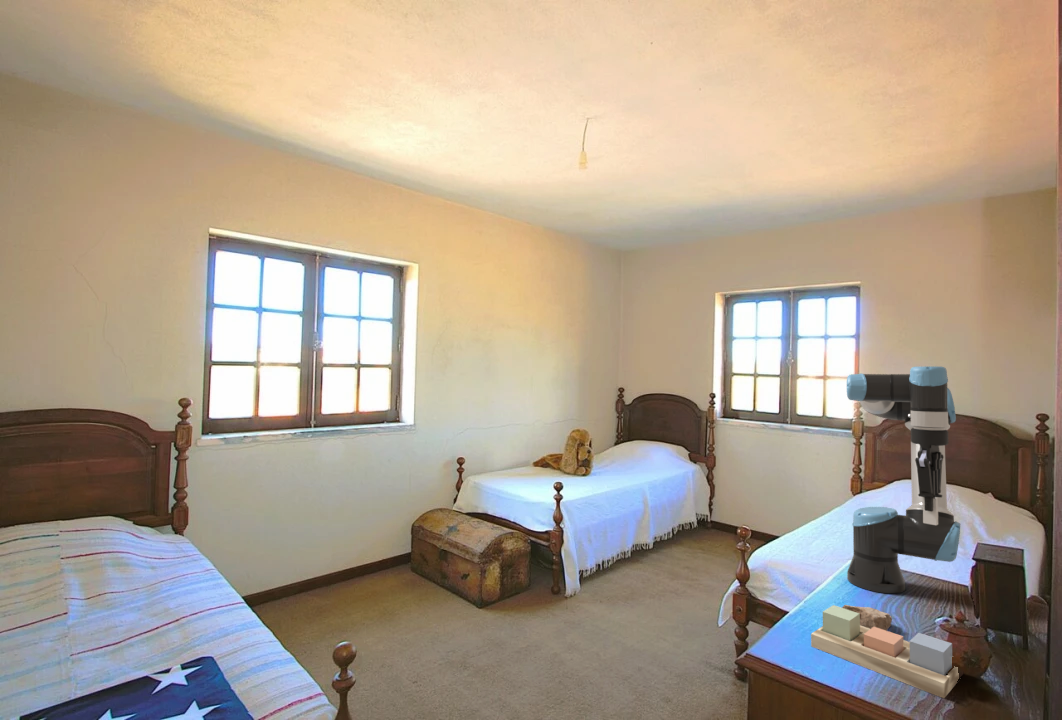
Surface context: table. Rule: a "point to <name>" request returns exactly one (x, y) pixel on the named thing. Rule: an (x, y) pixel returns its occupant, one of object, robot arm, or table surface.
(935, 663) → the slate block
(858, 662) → the socket board
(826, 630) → the sage block
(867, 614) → the stone
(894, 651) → the terracotta block
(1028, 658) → the table surface
